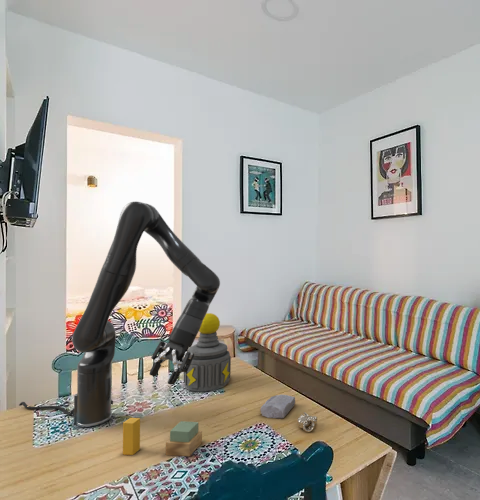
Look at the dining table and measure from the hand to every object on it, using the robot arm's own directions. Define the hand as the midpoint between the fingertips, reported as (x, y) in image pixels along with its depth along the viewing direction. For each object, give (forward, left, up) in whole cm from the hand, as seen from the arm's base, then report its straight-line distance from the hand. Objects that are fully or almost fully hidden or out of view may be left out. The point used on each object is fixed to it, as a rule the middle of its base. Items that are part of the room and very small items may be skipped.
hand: (161, 379), depth 109 cm
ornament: (+45, +9, -17) cm, 49 cm away
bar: (-2, -10, -17) cm, 20 cm away
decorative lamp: (-4, +39, -17) cm, 43 cm away
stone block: (+32, +19, -17) cm, 41 cm away
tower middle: (+12, -7, -13) cm, 19 cm away
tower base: (+12, -7, -17) cm, 22 cm away
